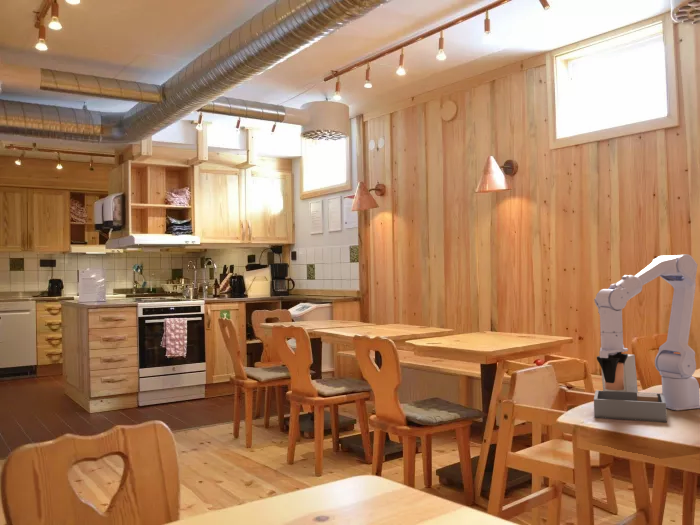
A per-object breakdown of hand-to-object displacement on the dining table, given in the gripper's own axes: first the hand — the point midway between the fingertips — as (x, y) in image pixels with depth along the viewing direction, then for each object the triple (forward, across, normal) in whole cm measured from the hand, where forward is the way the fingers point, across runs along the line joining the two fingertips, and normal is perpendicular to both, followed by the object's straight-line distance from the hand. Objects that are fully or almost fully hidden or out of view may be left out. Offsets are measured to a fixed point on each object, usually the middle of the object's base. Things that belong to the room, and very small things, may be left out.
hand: (613, 381), depth 173 cm
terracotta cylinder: (+2, 0, 0) cm, 2 cm away
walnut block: (+9, +4, -8) cm, 12 cm away
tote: (+9, +3, -3) cm, 10 cm away
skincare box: (+10, +15, +3) cm, 18 cm away
